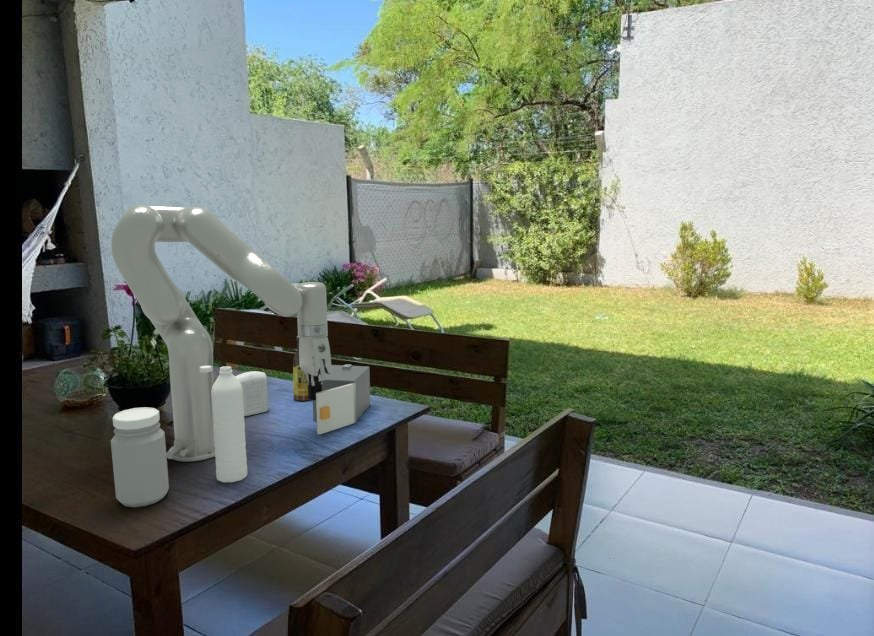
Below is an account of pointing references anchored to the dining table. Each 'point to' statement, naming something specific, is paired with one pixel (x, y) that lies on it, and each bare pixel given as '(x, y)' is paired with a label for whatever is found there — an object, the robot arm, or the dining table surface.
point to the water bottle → (228, 426)
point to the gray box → (347, 376)
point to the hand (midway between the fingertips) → (315, 398)
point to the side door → (336, 408)
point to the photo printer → (254, 392)
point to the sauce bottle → (299, 379)
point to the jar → (139, 457)
